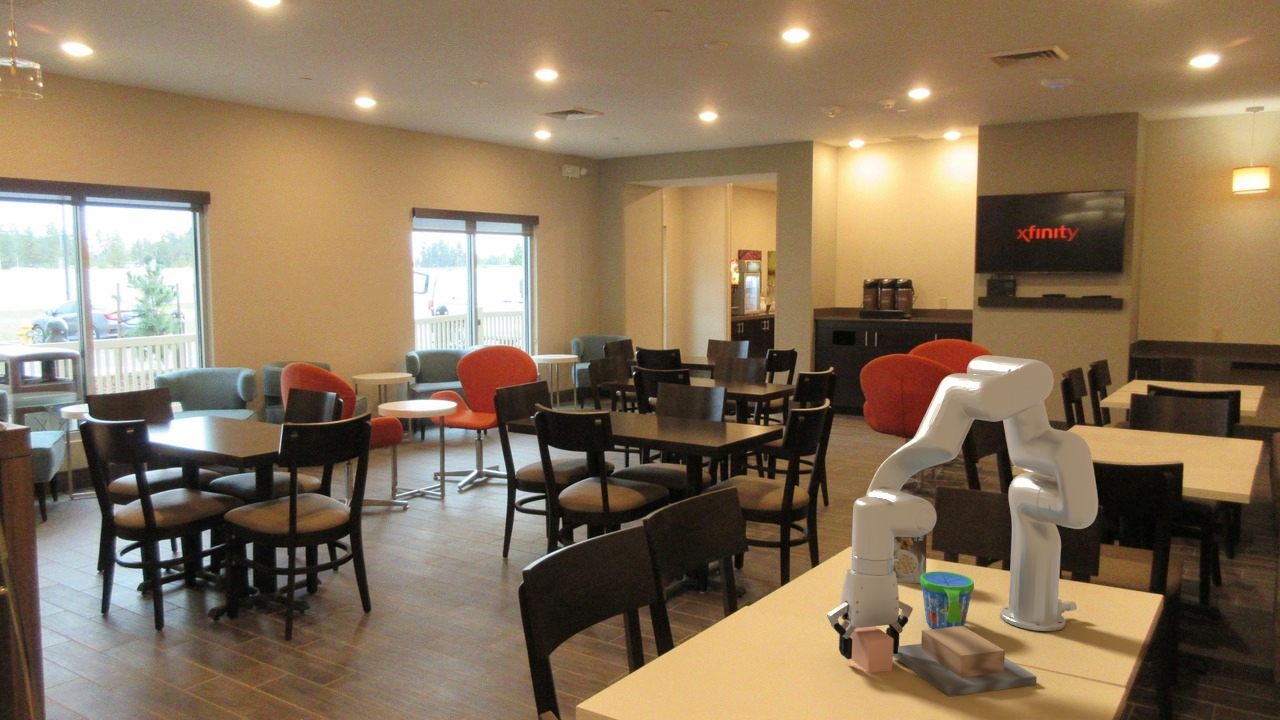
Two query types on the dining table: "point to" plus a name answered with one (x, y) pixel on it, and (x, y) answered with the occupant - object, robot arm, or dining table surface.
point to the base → (962, 683)
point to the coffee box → (910, 558)
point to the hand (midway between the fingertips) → (868, 653)
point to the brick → (872, 649)
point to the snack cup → (946, 598)
